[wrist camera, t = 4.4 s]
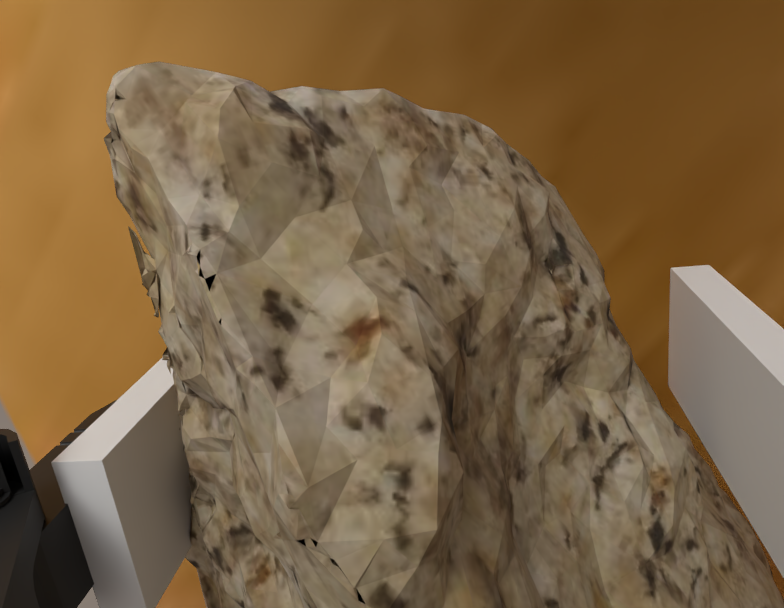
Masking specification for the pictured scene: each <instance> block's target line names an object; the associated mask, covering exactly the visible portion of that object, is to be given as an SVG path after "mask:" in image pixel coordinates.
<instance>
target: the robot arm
mask: <svg viewBox="0 0 784 608" xmlns="http://www.w3.org/2000/svg"><path fill="white" fill-rule="evenodd" d="M167 356H168V355H167ZM162 359H163V358H162ZM162 359H161V360H159V361H158V362H157V363H156V364H155V365H154V366H153V367H152V368H151V369H150V370H149V371H148V372H147V373H146V374H145V375H144V376H142V377H141V378H140V379H139V380H138V381H137V382H136V383H135V384H134V385H133V386H132V387H131V388H130V389H129V390H128V391H126V392H125V393H124V394H123V395H122V396H121V397H120V398H119V399H118V400H116V401H114V402H112V403H110V404H108V405H106V406H105V407H103V408H101V409H99V410H98V411H96V412H94V413H92V414H91V415H90V416H88V417H87V418H86V419H85V420H84V421H83V422H82V423H81V424H80V425H79V426H78V427H76V428H75V429H74V433H70V434H69V435H68V436H67V437H65V438H64V439H63V440H62V441H61V442H60V445H59V446H56V447H55V448H53V449H52V450H51V451H50V452H49V453H48V454H47V455H46V456H45V457H44V458H42V459H41V460H40V461H39V462H38V463H37V464H36V465H35V466H34V467H33V468H31V469H30V470H29V468H28V465H27V462H26V459H25V456H24V453H23V451H22V448H21V445H20V442H19V439H18V436H17V433H15V432H13V431H11V430H9V429H0V608H77V607H78V605H79V604H80V603H81V601H82V600H83V599H84V597H85V596H86V594H87V593H88V591H89V590H90V589H91V588H92V587H93V590H94V593H95V596H96V599H97V602H98V605H99V608H155V607H156V606H157V604H158V602H159V600H160V599H161V597H162V595H163V594H164V592H165V590H166V589H167V587H168V585H169V583H170V582H171V580H172V578H173V577H174V575H175V573H176V571H177V570H178V568H179V566H180V565H181V563H182V561H183V560H184V558H185V556H186V554H187V553H188V551H189V549H190V548H191V546H192V545H191V541H190V527H191V512H192V505H191V502H190V500H191V489H190V484H189V472H190V471H189V472H188V470H189V468H190V467H189V464H188V461H187V458H186V455H185V450H184V451H183V447H184V445H183V439H182V429H181V418H180V416H179V413H180V415H181V416H182V417H183V415H184V414H185V409H184V410H182V411H181V412H180V411H178V399H177V394H176V389H175V385H174V380H173V369H172V368H171V367H170V369H171V374H170V372H169V370H168V368H167V360H162ZM181 382H182V381H181ZM668 386H669V388H670V390H671V391H672V393H673V395H674V396H675V398H676V400H677V401H678V403H679V405H680V406H681V408H682V410H683V411H684V413H685V415H686V416H687V418H688V420H689V421H690V423H691V425H692V426H693V428H694V430H695V431H696V433H697V435H698V436H699V438H700V440H701V441H702V443H703V445H704V446H705V448H706V450H707V451H708V453H709V455H710V456H711V458H712V460H713V461H714V463H715V465H716V466H717V468H718V470H719V471H720V473H721V475H722V476H723V478H724V480H725V481H726V483H727V485H728V486H729V488H730V490H731V491H732V493H733V495H734V496H735V498H736V500H737V501H738V503H739V505H740V506H741V508H742V510H743V511H744V513H745V515H746V516H747V518H748V520H749V521H750V523H751V525H752V526H753V528H754V530H755V531H756V533H757V535H758V536H759V538H760V540H761V541H762V543H763V545H764V546H765V548H766V550H767V551H768V553H769V555H770V556H771V558H772V560H773V561H774V563H775V565H776V566H777V568H778V570H779V571H780V573H781V575H782V576H783V578H784V329H783V328H782V327H781V326H780V325H778V324H777V323H776V322H775V321H774V320H773V319H771V318H770V317H769V316H768V315H767V314H766V313H764V312H763V311H762V310H761V309H760V308H759V307H757V306H756V305H755V304H754V303H753V302H752V301H750V300H749V299H748V298H747V297H746V296H745V295H743V294H742V293H741V292H740V291H739V290H738V289H736V288H735V287H734V286H733V285H732V284H731V283H729V282H728V281H727V280H726V279H725V278H724V277H722V276H721V275H720V274H719V273H718V272H717V271H716V270H714V269H713V268H712V267H711V266H710V265H701V266H688V267H675V268H670V315H669V363H668ZM179 429H180V430H179ZM188 467H189V468H188Z"/></svg>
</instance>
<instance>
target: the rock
mask: <svg viewBox="0 0 784 608" xmlns="http://www.w3.org/2000/svg"><path fill="white" fill-rule="evenodd" d="M106 122H107V124H108V126H109V128H110V130H111V132H110V133H109V134H108V135H107V136H106V137H105V138H104V141H105V144H106V146H107V149H108V151H109V154H110V159H111V165H112V171H113V177H114V182H115V188H116V194H117V198H118V199H119V200H120V202H121V203H122V205H123V206H124V208H125V209H126V211H127V212H128V214H129V215H130V217H131V219H132V221H133V223H134V225H135V227H136V229H137V230H138V232H139V234H140V236H141V238H142V240H143V242H144V244H145V245H146V247H147V249H148V251H149V253H150V255H151V256H149V255H148V254H147V253H145V252H144V251H143V249H142V246H141V244H140V242H139V240H138V237H137V235H136V233H135V232H134V231H133V230H132V229H131V228H130V227H128V228H129V231H130V235H131V239H132V243H133V247H134V250H135V254H136V258H137V262H138V265H139V269H140V273H141V277H142V282H143V283H142V285H144V286H145V287H146V289H147V290H148V293H147V295H148V296H149V297H151V300H152V303H153V306H154V309H155V315H154V316H156V317H158V316H159V313H158V305H159V311H160V317H161V322H162V325H161V327H160V329H159V331H158V332H159V334H160V335H161V337H162V338H163V340H164V342H165V344H166V345H167V349H166V350H165V352H164V354H163V359H162V360H167V368H168V370H169V372H170V374H171V369H170V367H171V368H172V369H173V380H174V385H175V389H176V394H177V399H178V411H180V412H181V411H182V410H184V409H185V414H184V415H183V417H182V416H181V415H180V413H179V416H180V418H181V429H182V439H183V445H184V447H183V451H184V450H185V455H186V458H187V461H188V464H189V467H190V468H189V467H188V468H189V470H188V472H189V471H190V472H189V484H190V489H191V500H190V502H191V505H192V512H191V527H190V541H191V545H192V546H191V548H190V549H189V551H188V553H187V554H186V556H185V558H186V559H187V560H188V561H189V562H190V563H191V564H193V565H194V566H195V567H196V568H197V569H198V573H199V578H200V582H201V586H202V591H203V595H204V598H205V601H206V604H207V607H208V608H784V600H783V597H782V595H781V593H780V592H779V590H778V588H777V586H776V585H775V583H774V581H773V576H772V571H771V569H770V565H769V563H768V561H767V558H766V556H765V554H764V551H763V549H762V547H761V545H760V543H759V541H758V540H757V538H756V536H755V533H754V531H753V529H752V527H751V526H750V524H749V523H748V522H747V520H746V519H745V518H744V517H743V516H742V515H741V513H740V512H739V511H738V509H737V508H736V506H735V505H734V504H733V502H732V501H731V499H730V498H729V497H728V495H727V494H726V493H725V492H724V491H723V490H722V489H721V488H720V487H719V486H718V483H717V480H716V478H715V476H714V474H713V472H712V470H711V468H710V466H709V465H708V464H707V463H706V462H705V461H704V459H703V458H702V457H701V456H700V455H699V453H698V452H697V451H696V450H695V449H694V446H693V444H692V442H691V439H690V437H689V435H688V434H687V433H686V432H685V431H683V430H682V429H681V428H680V427H679V426H678V425H677V424H675V423H674V422H673V420H672V419H671V418H670V417H669V416H668V414H667V413H666V412H665V411H664V410H663V408H662V406H661V404H660V402H659V400H658V398H657V396H656V394H655V393H654V391H653V389H652V388H651V386H650V385H649V383H648V382H647V380H646V378H645V377H644V375H643V374H642V372H641V371H640V369H639V367H638V366H637V364H636V363H635V361H634V359H633V355H632V352H631V348H630V347H629V345H628V344H627V342H626V340H625V339H624V337H623V336H622V334H621V332H620V331H619V329H618V328H617V326H616V324H615V321H614V319H613V316H612V314H611V311H610V309H609V308H610V300H611V298H610V296H609V293H608V291H607V289H606V286H605V284H604V269H603V267H602V265H601V263H600V261H599V258H598V256H597V254H596V252H595V251H594V249H593V248H592V246H591V245H590V243H589V242H588V240H587V239H586V237H585V236H584V235H583V233H582V231H581V230H580V228H579V226H578V224H577V223H576V221H575V219H574V218H573V216H572V214H571V213H570V211H569V209H568V208H567V206H566V204H565V203H564V201H563V199H562V198H561V196H560V194H559V193H558V191H557V189H556V187H555V186H553V185H552V184H551V183H549V182H548V181H547V180H546V179H544V178H543V177H542V176H541V175H540V174H539V173H538V171H537V170H536V169H535V168H534V166H533V165H532V164H531V162H530V161H529V160H528V159H526V158H525V157H523V156H522V155H521V154H519V153H518V152H517V151H516V150H514V149H513V148H512V147H510V146H509V145H508V144H506V143H505V142H504V141H503V140H502V139H501V138H500V137H499V136H498V135H497V134H496V133H495V132H494V131H493V130H492V129H491V128H489V127H487V126H485V125H483V124H481V123H479V122H477V121H475V120H473V119H471V118H470V117H468V116H466V115H462V114H456V113H449V112H443V111H436V110H430V109H423V108H422V107H420V106H418V105H416V104H414V103H412V102H410V101H408V100H406V99H405V98H403V97H401V96H399V95H397V94H395V93H393V92H390V91H388V90H386V89H384V88H381V89H366V90H351V91H335V90H327V89H320V88H312V87H304V86H300V87H294V88H289V89H283V90H278V91H272V92H269V91H267V90H266V89H264V88H262V87H260V86H259V85H257V84H255V83H254V82H252V81H250V80H246V79H242V78H238V77H234V76H230V75H226V74H221V73H217V72H212V71H207V70H202V69H196V68H191V67H185V66H180V65H175V64H169V63H164V62H154V63H147V64H141V65H135V66H132V67H129V68H126V69H123V70H120V71H118V72H117V73H116V74H115V75H114V76H113V79H112V82H111V84H110V87H109V90H108V92H107V106H106ZM167 355H168V356H167ZM181 381H182V382H181ZM179 430H180V429H179Z"/></svg>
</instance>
